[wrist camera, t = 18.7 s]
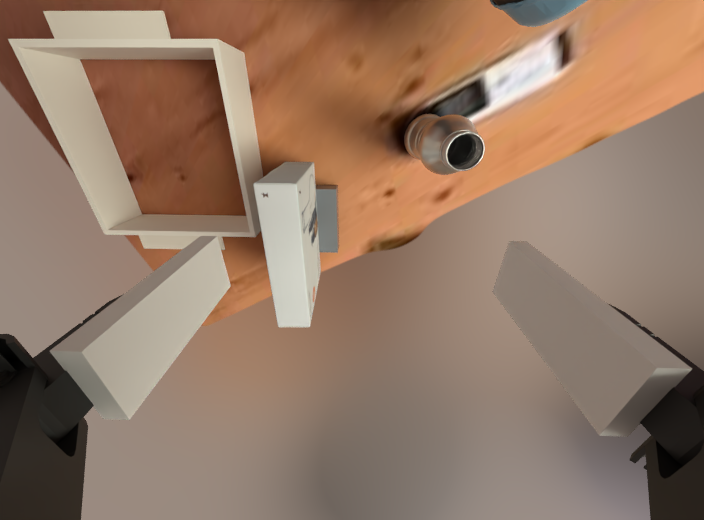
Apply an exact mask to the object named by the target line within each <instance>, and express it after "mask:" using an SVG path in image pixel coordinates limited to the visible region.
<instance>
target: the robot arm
mask: <svg viewBox="0 0 704 520" xmlns="http://www.w3.org/2000/svg"><path fill="white" fill-rule="evenodd" d="M586 1H588V0H490V2H491V4H492V5H493V6H494V7H496V8H498V9H500V10H503V11H505V12H506V13H507V14H508V15H509V16H510V17H511V18H512V19H513V20H515V21H516V22H517V23H518V24H520V25H524V26H528V27H530V26H531V27H536V26H541V25H544V24H547V23H550V22H552V21H554V20H556V19H558V18H560V17H562V16H564V15H566V14H567V13H569V12H571V11H572V10H574V9H576V8H577V7H579V6H580V5H582V4H583V3H585V2H586ZM229 288H230V282H229V278H228V275H227V271H226V267H225V263H224V260H223V256H222V252H221V248H220V245H219V241H218V237H217V236H200V237H199V238H197V239H196V240H195V241H193V242H192V243H191V244H189V245H188V246H187V247H185V248H184V249H183V250H181V251H180V252H179V253H177V254H176V255H175V256H174V257H172V258H171V259H170V260H168V261H167V262H166V263H164V264H163V265H162V266H160V267H159V268H158V269H156V270H155V271H154V272H153V273H151V274H150V275H149V276H147V277H146V278H145V279H143V280H142V281H141V282H139V283H138V284H137V285H136V286H134V287H133V288H132V289H130V290H129V291H128V292H126V293H125V294H123V295H121V296H119V297H117V298H115V299H113V300H111V301H109V302H108V303H106V304H105V305H104V306H102V307H101V308H100V309H98V310H97V311H96V312H95V314H92V315H90V316H89V317H88V318H86V319H85V320H84V321H83V323H82V324H78V325H77V326H76V327H74V328H73V329H72V330H70V331H69V332H68V333H66V334H65V335H64V336H62V337H61V338H60V339H58V340H57V341H55V342H54V343H53V344H52V345H50V346H49V347H47V348H46V349H45V350H43V351H42V352H41V353H39V354H38V355H37V356H35V357H34V358H32V357H31V356H30V355H29V353H28V352H27V351H26V350H25V349H24V347H23V346H22V345H21V344H20V343H19V342H18V340H17V339H16V338H15V337H14V336H12V335H9V334H0V520H81V509H82V497H83V483H84V470H85V458H86V445H87V432H88V425H87V422H86V420H85V419H84V418H83V417H84V416H85V415H86V414H87V413H88V411H89V410H90V409H91V408H92V407H94V408H95V409H96V410H97V412H98V413H99V414H100V415H101V417H102V418H103V419H122V420H130V418H131V417H132V416H133V414H134V413H135V412H136V411H137V409H138V408H139V407H140V405H141V404H142V403H143V401H144V400H145V399H146V397H147V396H148V395H149V393H150V392H151V391H152V389H153V388H154V387H155V385H156V384H157V383H158V381H159V380H160V379H161V377H162V376H163V375H164V373H165V372H166V371H167V369H168V368H169V367H170V366H171V364H172V363H173V362H174V360H175V359H176V358H177V356H178V355H179V354H180V352H181V351H182V349H183V348H184V347H185V346H186V344H187V343H188V342H189V340H190V339H191V338H192V336H193V335H194V334H195V332H196V331H197V330H198V329H199V327H200V326H201V325H202V323H203V322H204V321H205V319H206V318H207V317H208V315H209V314H210V313H211V311H212V310H213V309H214V307H215V306H216V305H217V303H218V302H219V301H220V299H221V298H222V297H223V295H224V294H225V293H226V291H227V290H228V289H229ZM493 293H494V294H495V296H496V297H497V298H498V300H499V301H500V302H501V304H502V305H503V306H504V308H505V309H506V310H507V312H508V313H509V314H510V316H511V317H512V319H513V320H514V321H515V323H516V324H517V325H518V327H519V328H520V329H521V331H522V332H523V333H524V335H525V336H526V337H527V339H528V340H529V341H530V343H531V344H532V345H533V347H534V348H535V350H536V351H537V352H538V353H539V355H540V356H541V358H542V359H543V360H544V362H545V363H546V364H547V366H548V367H549V368H550V370H551V371H552V372H553V374H554V375H555V376H556V378H557V379H558V380H559V382H560V383H561V385H562V386H563V387H564V388H565V390H566V391H567V393H568V394H569V395H570V397H571V398H572V399H573V401H574V402H575V403H576V405H577V406H578V407H579V409H580V410H581V412H582V413H583V414H584V415H585V417H586V418H587V419H588V421H589V422H590V424H591V425H592V426H593V428H594V429H595V430H596V432H597V433H598V434H599V435H601V436H629V435H630V434H631V433H632V432H633V431H634V430H635V428H636V427H637V426H638V425H639V424H640V423H641V424H642V425H643V426H644V427H645V428H646V429H647V431H648V432H649V433H650V434H651V436H650V437H649V438H648V439H647V440H646V441H645V442H644V443H643V444H642V445H641V446H640V447H639V448H638V449H637V450H636V451H635V452H633V453H632V455H631V458H630V461H632V462H634V463H636V462H637V461H638V460H639V459H640V458H641V457H644V456H645V457H646V465H645V466H644V468H645V469H646V470H647V478H648V490H649V504H650V516H651V520H704V371H703V370H701V369H700V368H698V367H697V366H696V365H694V364H693V363H692V362H690V361H689V360H688V359H687V358H685V357H684V356H683V355H681V354H680V353H679V352H677V351H676V350H675V349H673V348H672V347H671V346H669V345H668V344H667V343H665V342H664V341H662V340H661V339H660V338H659V337H655V336H654V334H653V333H652V332H651V331H649V330H648V329H647V328H645V327H641V324H640V323H638V322H637V321H636V320H635V319H633V318H632V317H631V316H629V315H628V314H626V313H625V312H623V311H621V310H619V309H618V308H616V307H614V306H612V305H610V304H608V303H606V302H605V301H603V300H602V299H601V298H600V297H598V296H597V295H596V294H594V293H593V292H592V291H590V290H589V289H588V288H587V287H585V286H584V285H583V284H581V283H580V282H579V281H577V280H576V279H575V278H574V277H572V276H571V275H569V274H568V273H567V272H566V271H564V270H563V269H562V268H560V267H559V266H558V265H557V264H555V263H554V262H553V261H551V260H550V259H549V258H547V257H546V256H545V255H544V254H542V253H541V252H540V251H538V250H537V249H536V248H534V247H533V246H532V245H531V244H529V243H528V242H524V241H521V242H520V241H509V243H508V246H507V250H506V252H505V255H504V259H503V262H502V265H501V268H500V271H499V274H498V277H497V280H496V283H495V286H494V289H493Z"/></svg>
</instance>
